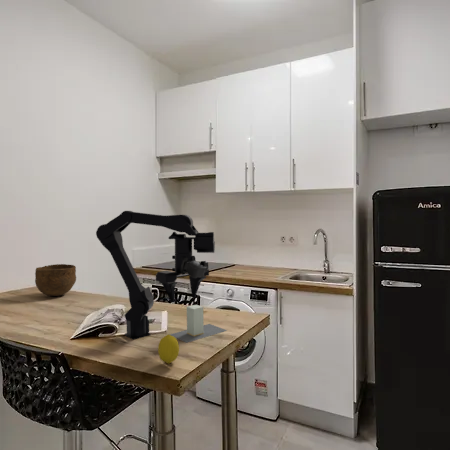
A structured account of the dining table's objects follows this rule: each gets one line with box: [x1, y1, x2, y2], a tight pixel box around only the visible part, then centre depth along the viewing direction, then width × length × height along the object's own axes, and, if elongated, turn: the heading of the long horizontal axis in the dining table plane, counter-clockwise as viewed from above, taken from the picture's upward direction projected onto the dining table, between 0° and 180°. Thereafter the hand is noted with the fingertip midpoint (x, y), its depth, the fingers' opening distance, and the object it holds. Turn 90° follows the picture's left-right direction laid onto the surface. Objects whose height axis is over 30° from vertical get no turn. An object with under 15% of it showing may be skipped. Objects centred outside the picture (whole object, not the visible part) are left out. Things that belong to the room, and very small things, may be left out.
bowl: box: [34, 263, 77, 297], centre depth 175 cm, size 19×19×15 cm
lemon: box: [157, 333, 180, 365], centre depth 93 cm, size 6×6×8 cm
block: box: [186, 304, 205, 336], centre depth 116 cm, size 4×4×9 cm
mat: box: [169, 323, 228, 344], centre depth 117 cm, size 17×10×1 cm, turn 131°
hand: (183, 299), depth 114 cm, fingers open, 9 cm apart
